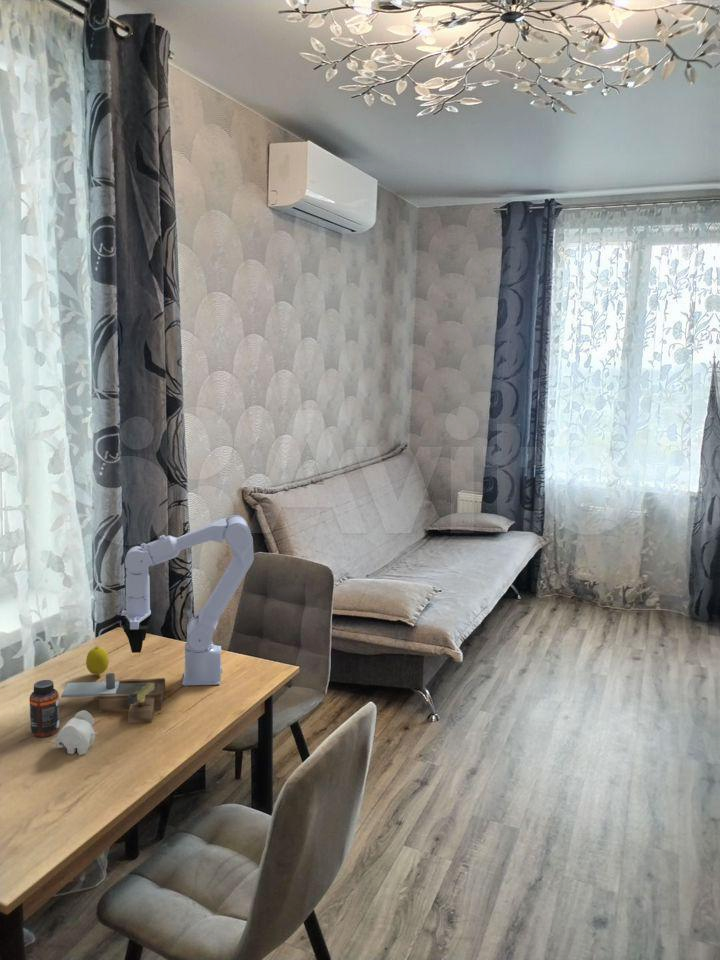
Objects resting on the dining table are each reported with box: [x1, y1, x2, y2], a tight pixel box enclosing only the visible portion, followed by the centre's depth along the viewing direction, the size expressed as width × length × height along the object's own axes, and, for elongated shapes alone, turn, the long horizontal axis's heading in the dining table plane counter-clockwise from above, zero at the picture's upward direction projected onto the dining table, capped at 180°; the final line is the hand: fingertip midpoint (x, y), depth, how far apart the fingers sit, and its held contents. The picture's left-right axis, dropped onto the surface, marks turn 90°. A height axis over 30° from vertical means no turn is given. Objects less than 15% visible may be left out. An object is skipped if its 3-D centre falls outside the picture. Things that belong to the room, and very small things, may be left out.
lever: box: [127, 683, 154, 706], centre depth 169 cm, size 8×2×4 cm, turn 160°
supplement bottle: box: [29, 679, 61, 738], centre depth 162 cm, size 6×6×11 cm
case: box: [98, 677, 166, 724], centre depth 175 cm, size 14×16×4 cm
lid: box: [61, 672, 119, 698], centre depth 175 cm, size 12×6×4 cm, turn 99°
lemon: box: [85, 646, 110, 677], centre depth 190 cm, size 6×6×8 cm
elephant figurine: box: [49, 710, 98, 756], centre depth 155 cm, size 8×10×7 cm
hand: (138, 646), depth 186 cm, fingers open, 7 cm apart
